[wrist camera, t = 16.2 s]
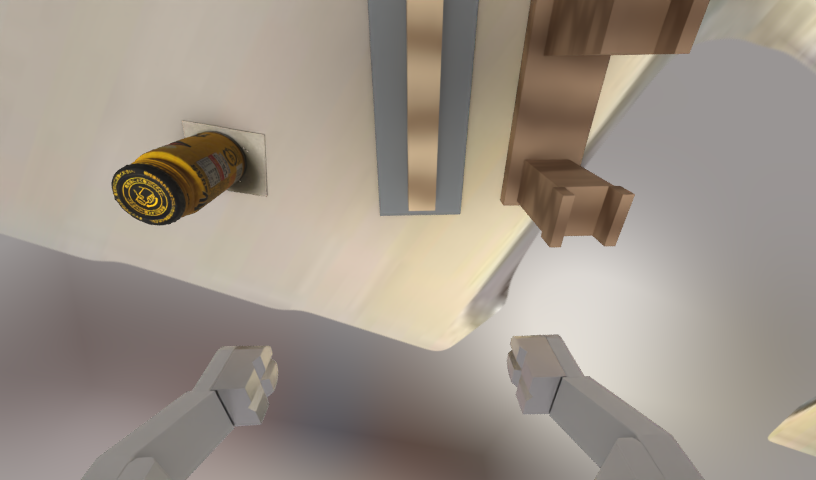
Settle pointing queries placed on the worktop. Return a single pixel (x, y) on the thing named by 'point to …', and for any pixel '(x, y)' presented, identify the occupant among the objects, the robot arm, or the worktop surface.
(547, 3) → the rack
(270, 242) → the worktop surface
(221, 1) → the worktop surface
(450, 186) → the mat
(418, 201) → the rail
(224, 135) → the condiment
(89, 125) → the worktop surface
